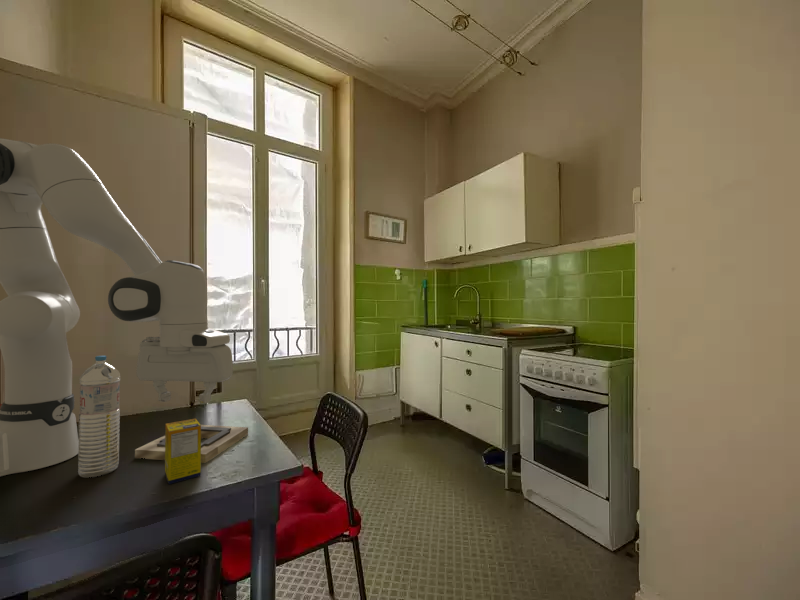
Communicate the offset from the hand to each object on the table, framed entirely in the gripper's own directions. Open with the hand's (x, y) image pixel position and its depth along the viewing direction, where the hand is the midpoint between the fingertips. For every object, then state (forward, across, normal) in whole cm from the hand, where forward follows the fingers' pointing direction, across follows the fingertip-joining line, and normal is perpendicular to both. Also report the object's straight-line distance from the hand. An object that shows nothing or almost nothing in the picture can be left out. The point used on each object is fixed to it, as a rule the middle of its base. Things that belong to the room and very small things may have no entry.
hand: (184, 401), depth 77 cm
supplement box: (+16, -1, 0) cm, 16 cm away
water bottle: (+16, -20, -1) cm, 25 cm away
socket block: (+16, -9, +15) cm, 23 cm away
